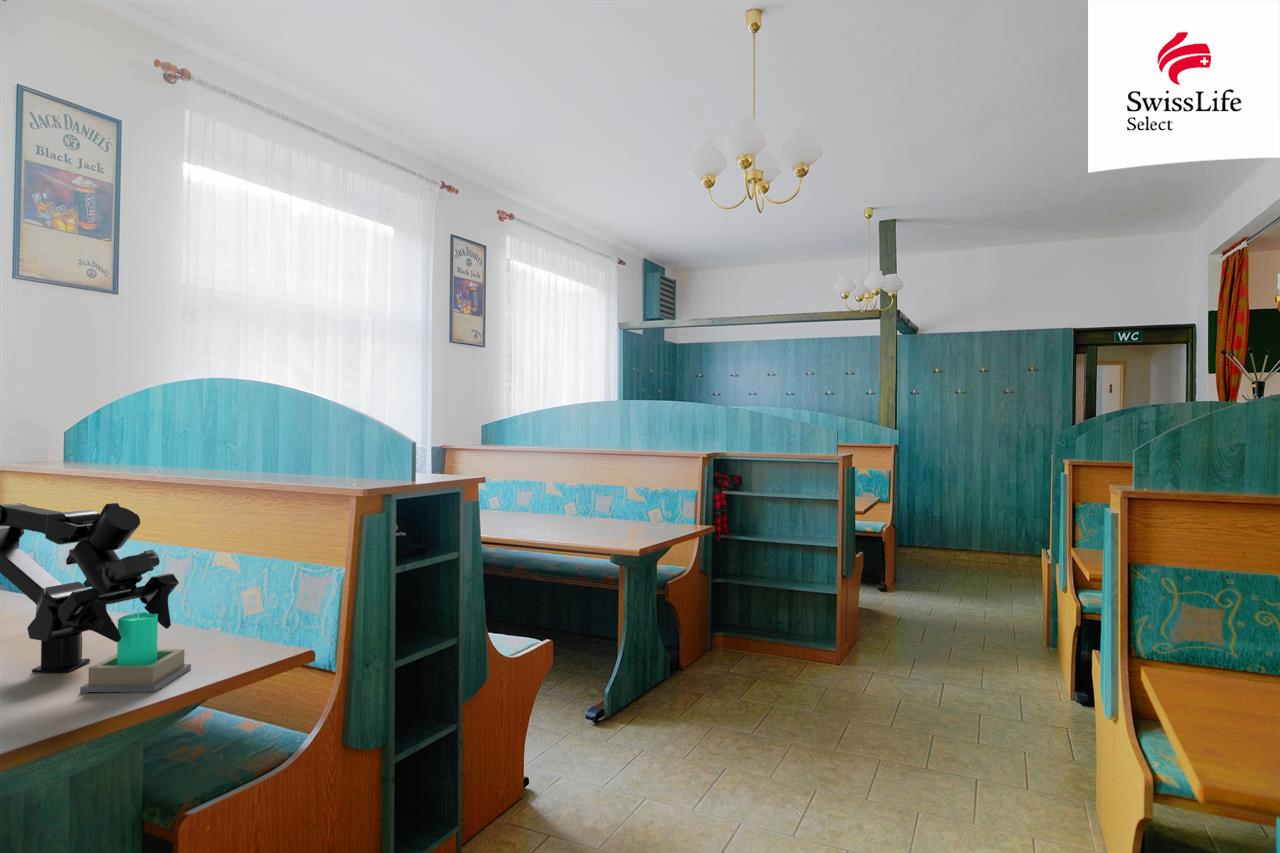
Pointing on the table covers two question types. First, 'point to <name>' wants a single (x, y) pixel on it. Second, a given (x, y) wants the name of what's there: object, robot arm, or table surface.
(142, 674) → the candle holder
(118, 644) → the candle
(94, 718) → the table surface
